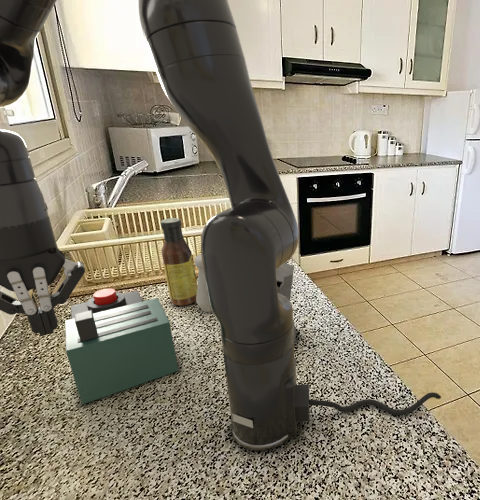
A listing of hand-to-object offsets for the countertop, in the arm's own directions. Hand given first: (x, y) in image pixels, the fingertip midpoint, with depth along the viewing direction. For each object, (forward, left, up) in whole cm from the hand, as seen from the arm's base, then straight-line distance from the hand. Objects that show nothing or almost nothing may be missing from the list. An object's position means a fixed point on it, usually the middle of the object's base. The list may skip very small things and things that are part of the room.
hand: (47, 332), depth 54 cm
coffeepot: (-30, -16, -13) cm, 36 cm away
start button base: (+6, -26, -13) cm, 30 cm away
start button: (+6, -26, -9) cm, 28 cm away
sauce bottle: (-8, -32, -13) cm, 35 cm away
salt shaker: (-15, -28, -13) cm, 34 cm away
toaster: (-6, -7, -13) cm, 16 cm away
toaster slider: (-4, -2, -2) cm, 5 cm away
